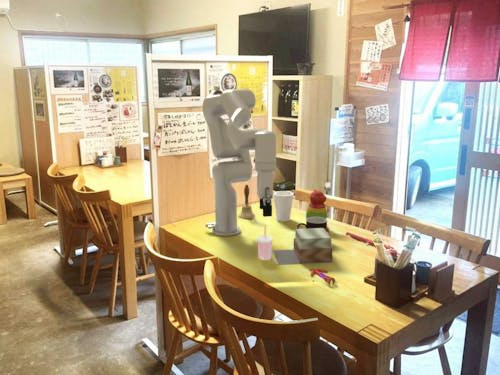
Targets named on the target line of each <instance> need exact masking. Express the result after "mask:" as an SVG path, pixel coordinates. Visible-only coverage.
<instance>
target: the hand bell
mask: <svg viewBox="0 0 500 375" xmlns="http://www.w3.org/2000/svg"><path fill="white" fill-rule="evenodd" d="M243 194H244V204H243V205H242V207H241V211H240V213H239V214H238V218H240V219H247V220H248V219H249V220H250V219H254V218H256V214H255V213H254V212H253V210H252V205H251V204H249V196H250V187H249V185H248V184H245V185H244V190H243Z"/></svg>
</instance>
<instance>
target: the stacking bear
mask: <svg viewBox="0 0 500 375" xmlns="http://www.w3.org/2000/svg"><path fill="white" fill-rule="evenodd" d="M327 199H328V198H327V195H325V194H324V193H323V192H322V191H321V190H317V189H314V190H313V191H312V192H311V193H310V194H309V201H310V203H309V204H308V205H307V208H306V211H305V220H306V219H307V218H309V217H322V218H325V219H327V218H328V212H327V211H328V210H327V207H326V204H325V203H326V200H327ZM327 220H328V219H327ZM305 229H307V228H306V227H305ZM326 232H327V233H329V232H330V229H329V227H328V224H327V225H326Z"/></svg>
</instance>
